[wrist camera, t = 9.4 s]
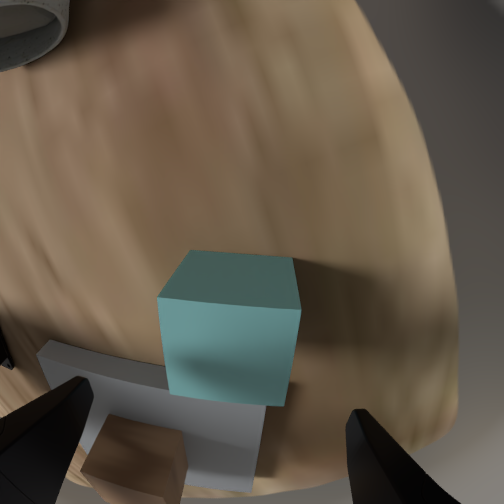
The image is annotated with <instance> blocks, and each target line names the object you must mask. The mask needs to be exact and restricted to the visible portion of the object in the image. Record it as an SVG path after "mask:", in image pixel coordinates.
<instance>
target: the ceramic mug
mask: <svg viewBox="0 0 504 504" xmlns="http://www.w3.org/2000/svg"><path fill="white" fill-rule="evenodd" d="M69 3H70V0H0V72H2V71H7V70H10V69H14V68H17V67H20V66H22V65H25V64H27V63H29V62H32V61H34V60H35V59H37V58H39V57H41V56H43V55H45V54H46V53H48V52H49V51H51V50H52V49H53V48H55V47H56V46H57V45H58V44H59V43H60V42H61V40H62V39H63V37H64V36H65V34H66V31H67V28H68V21H69Z"/></svg>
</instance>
